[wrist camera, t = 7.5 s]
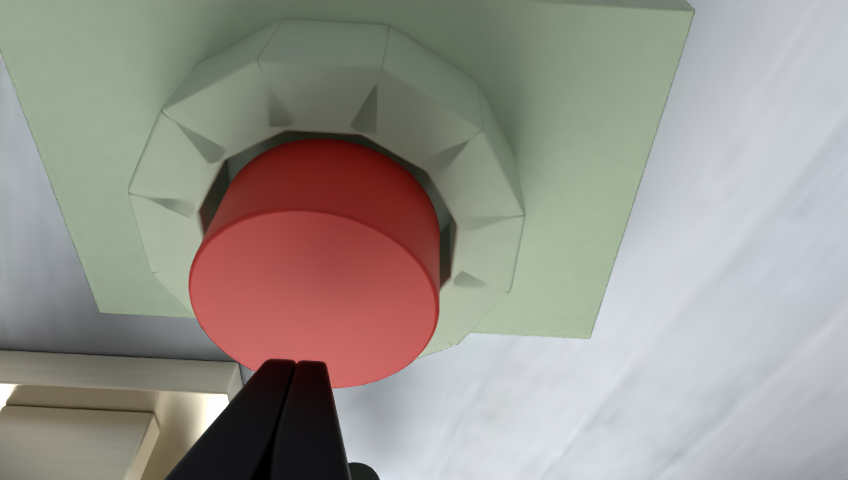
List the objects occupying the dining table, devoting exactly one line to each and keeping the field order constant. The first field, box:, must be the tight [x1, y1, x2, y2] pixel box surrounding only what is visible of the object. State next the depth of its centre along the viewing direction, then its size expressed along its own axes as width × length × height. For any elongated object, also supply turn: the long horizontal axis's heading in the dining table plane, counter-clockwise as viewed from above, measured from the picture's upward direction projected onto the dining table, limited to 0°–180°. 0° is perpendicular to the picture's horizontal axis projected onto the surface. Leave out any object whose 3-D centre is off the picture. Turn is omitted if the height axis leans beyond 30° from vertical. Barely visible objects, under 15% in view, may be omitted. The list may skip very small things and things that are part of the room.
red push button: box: [188, 139, 440, 388], centre depth 11 cm, size 4×4×2 cm
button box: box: [0, 0, 695, 358], centre depth 13 cm, size 12×8×4 cm, turn 87°
